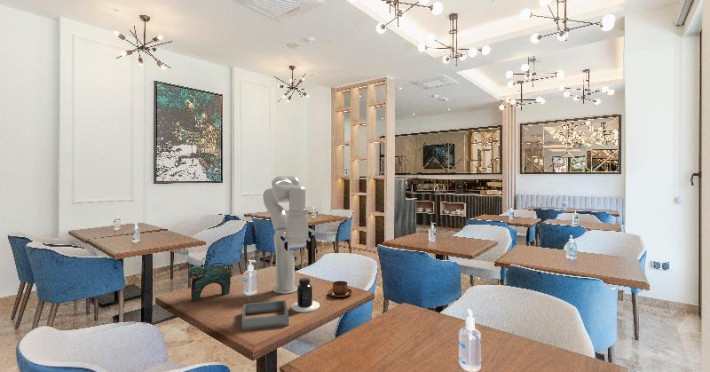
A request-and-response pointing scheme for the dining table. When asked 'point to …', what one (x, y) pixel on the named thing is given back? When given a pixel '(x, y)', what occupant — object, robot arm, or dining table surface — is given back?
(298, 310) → the plate
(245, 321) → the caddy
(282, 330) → the dining table surface
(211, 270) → the ceramic cat
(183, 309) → the dining table surface
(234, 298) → the dining table surface
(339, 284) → the cup and saucer
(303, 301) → the supplement bottle
